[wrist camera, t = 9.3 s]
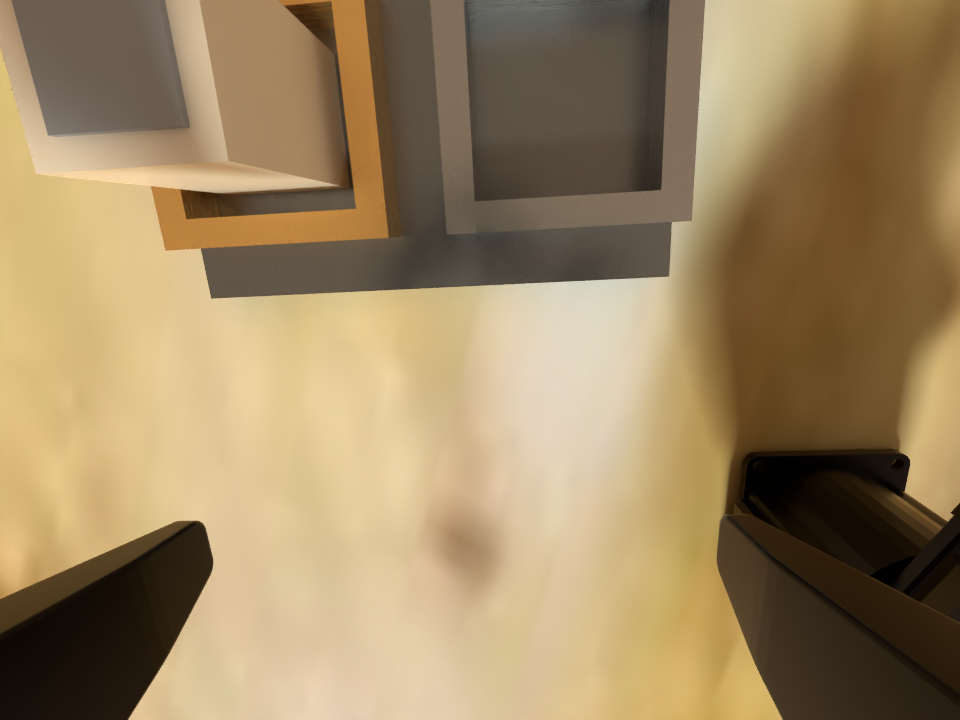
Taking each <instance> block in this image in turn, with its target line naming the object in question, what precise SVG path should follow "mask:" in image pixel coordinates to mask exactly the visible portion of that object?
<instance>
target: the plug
mask: <svg viewBox="0 0 960 720" xmlns="http://www.w3.org/2000/svg"><path fill="white" fill-rule="evenodd" d="M0 48H1V51H2V55H3V58H4V62H5V66H6V69H7V73H8V76H9V80H10V83H11V87H12V90H13V94H14V97H15V101H16V104H17V108H18V111H19V115H20V119H21V122H22V126H23V129H24V133H25V136H26V140H27V143H28V147H29V150H30V154H31V157H32V161H33V164H34V168H35V171H36V174H41V175H51V176H60V177H70V178H79V179H89V180H98V181H108V182H117V183H127V184H136V185H146V186H155V187H165V188H174V189H184V190H193V191H203V192H212V193H222V194H231V195H246V194H262V193H278V192H295V191H311V190H327V189H343V188H350V183H349V175H348V166H347V158H346V150H345V141H344V133H343V124H342V116H341V108H340V99H339V91H338V82H337V74H336V66H335V57H334V54H333V53H332V52H331V51H330V50H329V49H328V48H327V47H326V46H325V45H324V44H323V43H322V42H321V41H320V40H319V39H318V38H317V37H316V36H315V35H314V34H313V33H312V32H311V31H309V30H308V29H307V28H306V27H305V26H304V25H303V24H302V23H301V22H300V21H299V20H298V19H297V18H296V17H295V16H294V15H293V14H292V13H291V12H290V11H289V10H288V9H287V8H285V7H284V6H283V5H282V4H281V3H280V2H279V1H278V0H0Z"/></svg>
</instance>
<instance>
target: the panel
mask: <svg viewBox="0 0 960 720" xmlns="http://www.w3.org/2000/svg"><path fill="white" fill-rule="evenodd" d="M278 1H279V2H280V3H281V4H282V5H283V6H284V7H285V8H287V9H288V10H289V11H290V12H291V13H292V14H293V15H294V16H295V17H296V18H297V19H298V20H299V21H300V22H301V23H302V24H303V25H304V26H305V27H306V28H307V29H308V30H309V31H311V32H312V33H313V34H314V35H315V36H316V37H317V38H318V39H319V40H320V41H321V42H322V43H323V44H324V45H325V46H326V47H327V48H328V49H329V50H330V51H331V52H332V53H333V54H334V57H335V66H336V74H337V82H338V91H339V99H340V108H341V116H342V124H343V133H344V141H345V150H346V158H347V166H348V175H349V183H350V188H343V189H327V190H311V191H295V192H278V193H262V194H246V195H231V194H222V193H212V192H203V191H193V190H184V189H174V188H165V187H155V186H151V188H152V192H153V197H154V201H155V206H156V210H157V214H158V219H159V223H160V228H161V232H162V237H163V241H164V245H165V250H181V249H199V248H201V251H202V256H203V260H204V265H205V270H206V275H207V280H208V285H209V289H210V294H211V298H231V297H252V296H273V295H293V294H314V293H335V292H356V291H377V290H398V289H419V288H439V287H460V286H481V285H502V284H523V283H544V282H564V281H585V280H606V279H627V278H648V277H669V265H670V245H671V225H672V222H678V221H692V204H693V188H694V172H695V155H696V139H697V122H698V106H699V89H700V73H701V57H702V40H703V24H704V7H705V0H278Z"/></svg>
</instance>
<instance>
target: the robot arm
mask: <svg viewBox="0 0 960 720" xmlns="http://www.w3.org/2000/svg"><path fill="white" fill-rule="evenodd" d="M894 460H896V462H895V463H894V464H893V465H891V463H892V462H893V461H894ZM756 462H761V463H760V465H759V466H758V467H757V468H753V466H754V464H755V463H756ZM909 467H910V460H909V458H908V457H907V456H906V455H904V454H903V453H901V452H899V451H897V450H893V449H883V450H835V451H787V452H754V453H750V454H748V455H747V456H746V457H745V458H744V460H743V463H742V473H741V483H740V492H739V499H737V501H736V502H735V503H734V510H733V514H725V515H724V516H723V517H722V518H721V520H720V526H719V537H718V548H717V565H718V570H719V573H720V576H721V578H722V581H723V583H724V586H725V589H726V591H727V594H728V596H729V599H730V601H731V604H732V607H733V609H734V612H735V614H736V617H737V620H738V622H739V625H740V627H741V630H742V632H743V635H744V638H745V640H746V643H747V645H748V648H749V650H750V653H751V655H752V658H753V660H754V662H755V665H756V667H757V669H758V671H759V673H760V675H761V677H762V679H763V681H764V683H765V685H766V687H767V689H768V691H769V693H770V695H771V697H772V699H773V701H774V703H775V705H776V707H777V709H778V711H779V713H780V715H781V717H782V719H783V720H960V503H959V504H958V505H957V506H956V508H955V509H954V510H953V511H952V512H951V513H952V514H953V515H954V516H953V517H952V518H951V519H950V520H949V521H948V522H947V521H946V520H944V519H943V518H941V517H940V516H939V515H937V514H936V513H934V512H933V511H931V510H930V509H928V508H927V507H925V506H924V505H922V504H921V503H919V502H918V501H917V500H915V499H914V498H912V497H911V496H909V495H908V494H906V493H905V492H904V491H905V487H906V482H907V477H908V472H909ZM212 568H213V557H212V552H211V548H210V544H209V540H208V536H207V532H206V528H205V526H204V524H203V523H202V522H200V521H177V522H174V523H172V524H169V525H167V526H165V527H163V528H160V529H158V530H156V531H153V532H151V533H149V534H147V535H144V536H142V537H140V538H138V539H135V540H133V541H131V542H128V543H126V544H124V545H122V546H119V547H117V548H115V549H113V550H110V551H108V552H106V553H104V554H101V555H99V556H97V557H94V558H92V559H90V560H88V561H85V562H83V563H81V564H79V565H76V566H74V567H72V568H69V569H67V570H65V571H63V572H60V573H58V574H56V575H54V576H51V577H49V578H47V579H45V580H42V581H40V582H38V583H35V584H33V585H31V586H29V587H26V588H24V589H22V590H20V591H17V592H15V593H13V594H11V595H8V596H6V597H4V598H1V599H0V720H128V719H129V717H130V716H131V714H132V713H133V711H134V709H135V708H136V706H137V705H138V703H139V702H140V700H141V698H142V697H143V695H144V694H145V692H146V691H147V689H148V687H149V686H150V684H151V683H152V681H153V679H154V678H155V676H156V675H157V673H158V672H159V670H160V668H161V667H162V665H163V663H164V662H165V660H166V658H167V656H168V655H169V653H170V651H171V649H172V647H173V646H174V644H175V642H176V640H177V638H178V636H179V634H180V632H181V630H182V628H183V627H184V625H185V623H186V621H187V619H188V617H189V615H190V613H191V611H192V609H193V607H194V605H195V604H196V602H197V600H198V598H199V596H200V594H201V592H202V590H203V588H204V586H205V584H206V583H207V581H208V579H209V577H210V575H211V572H212Z"/></svg>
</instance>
